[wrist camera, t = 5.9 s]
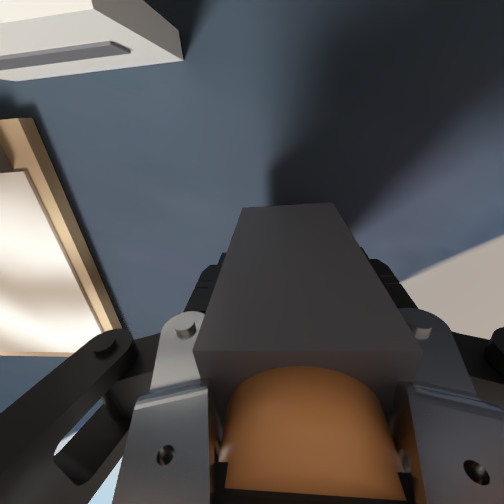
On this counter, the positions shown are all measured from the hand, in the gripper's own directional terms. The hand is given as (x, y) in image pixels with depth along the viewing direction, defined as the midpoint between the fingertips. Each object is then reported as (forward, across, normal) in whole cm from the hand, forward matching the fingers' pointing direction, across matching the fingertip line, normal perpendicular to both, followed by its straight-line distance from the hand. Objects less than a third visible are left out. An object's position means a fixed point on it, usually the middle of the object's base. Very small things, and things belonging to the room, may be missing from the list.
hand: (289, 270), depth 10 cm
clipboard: (+4, +18, +1) cm, 19 cm away
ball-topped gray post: (+2, 0, 0) cm, 2 cm away
